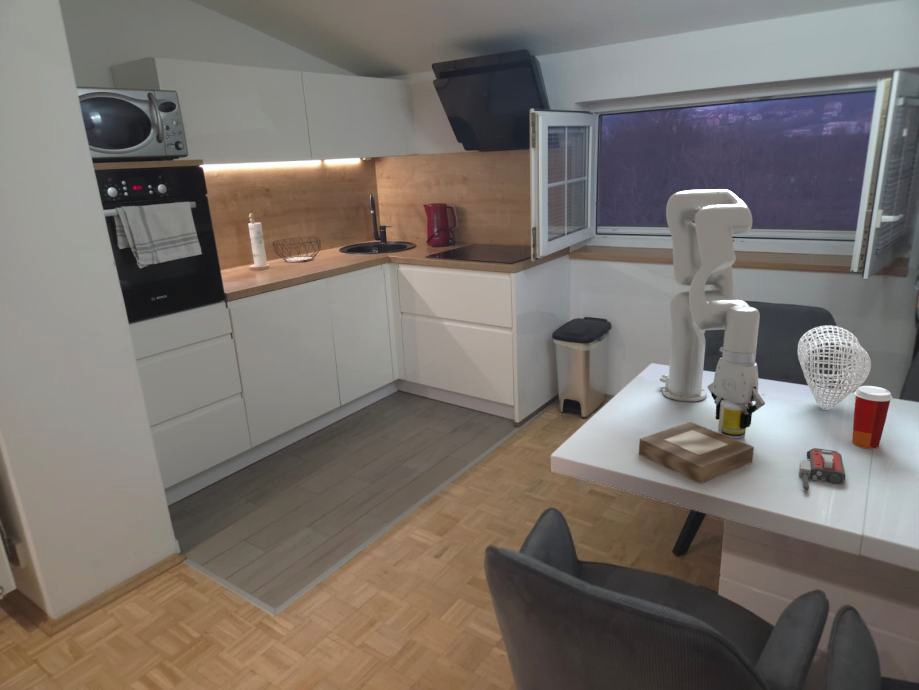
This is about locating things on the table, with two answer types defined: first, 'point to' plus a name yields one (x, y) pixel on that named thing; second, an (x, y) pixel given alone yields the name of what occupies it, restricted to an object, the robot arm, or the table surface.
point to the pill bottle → (730, 419)
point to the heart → (858, 363)
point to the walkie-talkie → (822, 467)
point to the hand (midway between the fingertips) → (732, 422)
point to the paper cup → (870, 415)
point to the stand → (696, 451)
